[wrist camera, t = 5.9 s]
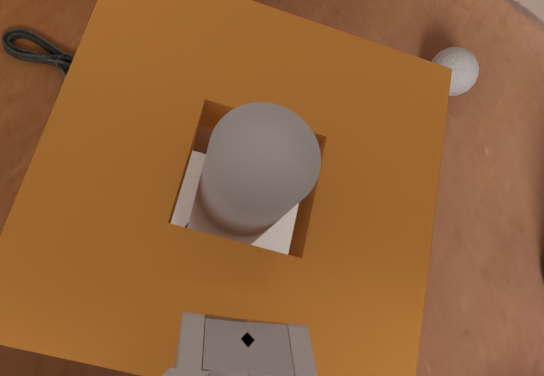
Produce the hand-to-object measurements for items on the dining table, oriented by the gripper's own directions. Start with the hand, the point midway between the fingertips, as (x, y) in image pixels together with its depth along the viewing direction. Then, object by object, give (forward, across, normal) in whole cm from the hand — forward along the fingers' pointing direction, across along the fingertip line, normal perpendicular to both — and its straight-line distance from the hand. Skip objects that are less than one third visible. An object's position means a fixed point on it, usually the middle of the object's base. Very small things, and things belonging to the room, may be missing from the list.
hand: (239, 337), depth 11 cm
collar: (+6, 0, +1) cm, 6 cm away
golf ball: (+31, +18, 0) cm, 36 cm away
